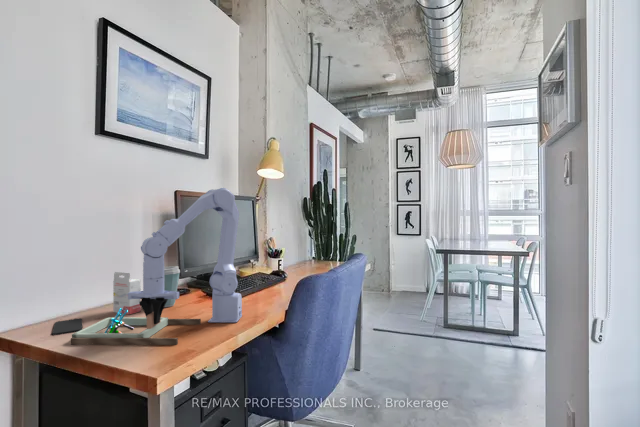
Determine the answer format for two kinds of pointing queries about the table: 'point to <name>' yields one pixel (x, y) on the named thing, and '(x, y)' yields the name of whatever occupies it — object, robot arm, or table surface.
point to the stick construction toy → (118, 323)
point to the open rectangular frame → (149, 321)
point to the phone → (67, 326)
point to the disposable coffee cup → (171, 282)
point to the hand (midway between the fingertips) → (153, 323)
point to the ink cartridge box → (125, 293)
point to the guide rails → (136, 340)
